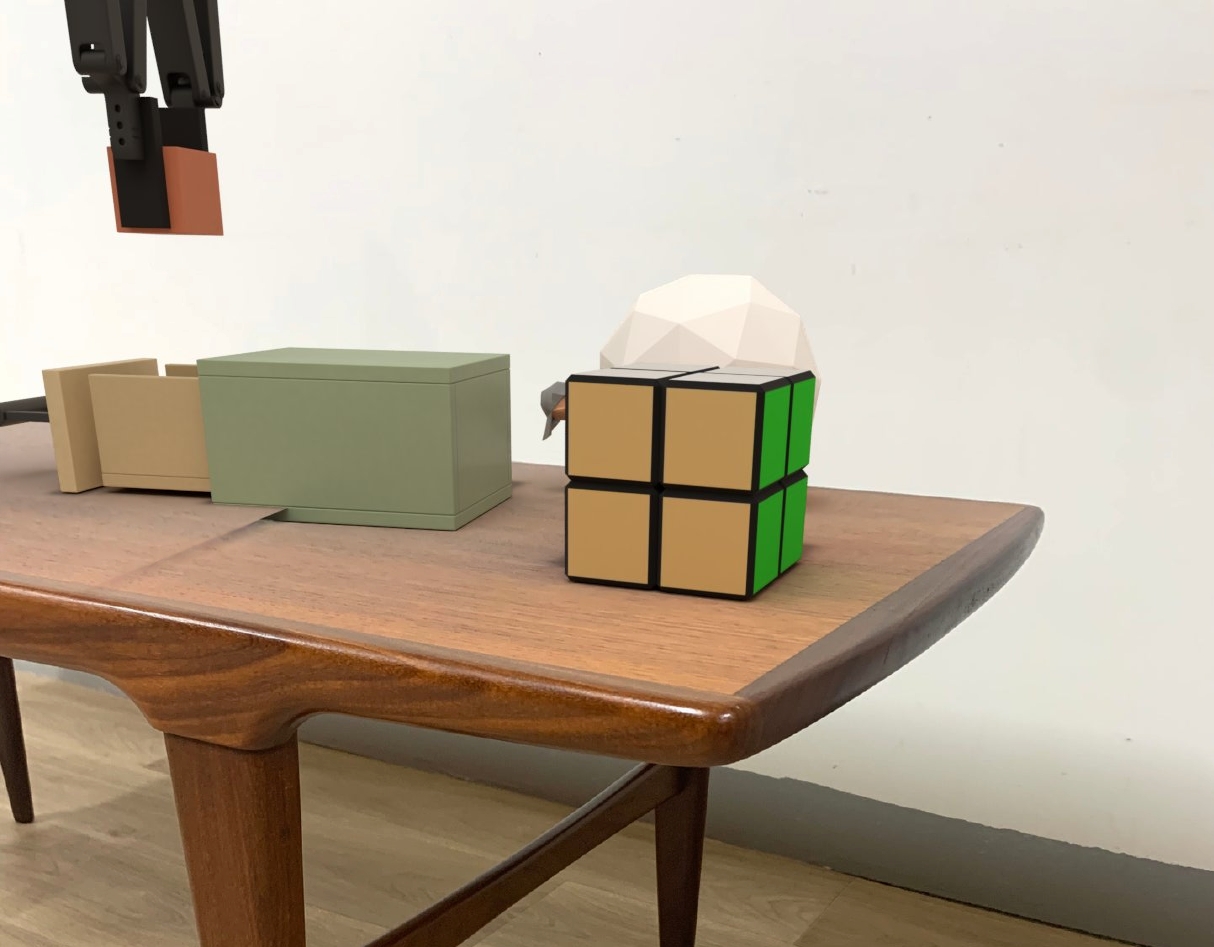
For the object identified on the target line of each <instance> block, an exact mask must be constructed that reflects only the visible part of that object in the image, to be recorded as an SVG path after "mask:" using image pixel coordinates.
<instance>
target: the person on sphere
mask: <svg viewBox="0 0 1214 947" xmlns="http://www.w3.org/2000/svg"><path fill="white" fill-rule="evenodd" d="M812 350H813V349H812V347H811V345H810V340H809V338H808V335H807V332H806V327H805V326H804V322H803V319H802V317H801V316H800V315H799V314H798V313H797V312H796V311H794V309H792V308H791V307H790V306H789V305H787V304H786V303H785V302H783V301H782V300H781V299H780V297H777V296H776V295H775V294H774V293H773V292H771V291H770V290H769V289H768V288H766V287H765V286H764V285H763V284H762V283H761V282H760V281H758V280H757V279H756V278H755V277H754V276H752V275H751V274H750V275H748V274H709V273H707V274H705V273H704V274H701V273H700V274H688V275H685V276H683V277H680V278H678V279H676V280H673V281H671V282H668V283H665V284H663V285H660V286H658V287H656V288H652V289H650V290H648V291H645V292H643V293H640V294H639V295H638V297H637V299H636V300H635V301H634V303H633V304H632V305H631V307H630V308H629V310H628V312H627V313H626V314H625V316H624V317H623V318H622V320H621V321H620V322H619V324H618V326H617V327H616V328H615V330H614V331H613V333H612V334H611V335H610V337H609V339H608V340H607V341H606V343H605V344H604V345H603V347H602V348H601V349H600V351H599V370H600V369H606V368H609V369H610V368H612V367H618V366H624V365H629V364H635V363H641V362H644V363H665V364H686V365H707V366H719V367H720V368H725V367H729V366H733V367H754V368H775V369H796V370H811V372H812V373H813V374H814V375H815V377H816V382H815V395H814V408H813V420H812V426H813V424H814V419H815V413H816V410H817V404H818V399H819V394H820V389H821V384H822V379H821V376H820V373H819V372H820V371H819V369H818V366H817V362H816V360H815V357H814V354H813V351H812ZM540 407H541V410H542V412H543V414H544V415H545V417H546V421H545V425H544V426H545V427H544V431H543V436H542V441H545V440H547V439H548V438H550V437H551V436H552V435H553V434H552V432H553V430H554V429H555V428H556V427H557V426H558V425H559V423H560V422H561V421H565V381H559V380H558V381H556V382H554V383H552V384H551V385H550V386H549V387H547V388H545V389H543V390H542V391H541V392H540Z"/></svg>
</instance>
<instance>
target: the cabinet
mask: <svg viewBox="0 0 1214 947" xmlns="http://www.w3.org/2000/svg"><path fill="white" fill-rule="evenodd" d="M195 361H196V364H197V371H198V375H199V376H198V378H199V387H200V396H201V406H202V415H203V424H204V433H205V442H206V451H207V460H208V469H209V478H210V487H211V492H210V496H211V502H212V504H213V505H214V504H215V505H231V506H232V505H233V506H250V507H267V508H268V507H269V508H284V509H282V510H279V511H276V512H273V513H271V514H269V515H266V516H264V517H262V518H259V519H258V520H261V521H278V522H279V521H280V522H293V523H294V522H296V523H314V524H329V525H331V524H332V525H348V526H349V525H350V526H366V527H384V528H385V527H386V528H401V529H402V528H403V529H418V530H419V529H420V530H434V531H435V530H438V531H452V532H453V531H457V530H458V529H460V528H461V527H462V528H463V527H464V526H465V525H466V524H468V523H470V522H472V521H473V520H474V519H476V518H479V517H480V516H482V515H483V514H485V513H486V512H488V511H489V510H491V509H493V508H494V507H496V506H498V505H499V504H501V503H503V502H505V501H506V500H508V499H509V498H511V497H512V496H513V484H512V483H513V470H512V468H513V466H512V460H513V458H512V403H511V402H512V400H511V399H512V397H511V354H510V353H492V352H490V353H489V352H460V351H459V352H455V351H426V350H425V351H423V350H392V349H390V350H388V349H360V348H357V349H356V348H326V347H325V348H323V347H293V346H291V347H290V346H288V347H281V348H273V349H266V350H258V351H257V350H256V351H251V352H243V353H236V354H228V355H227V354H226V355H220V356H212V357H204V358H197V359H196V360H195Z"/></svg>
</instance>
